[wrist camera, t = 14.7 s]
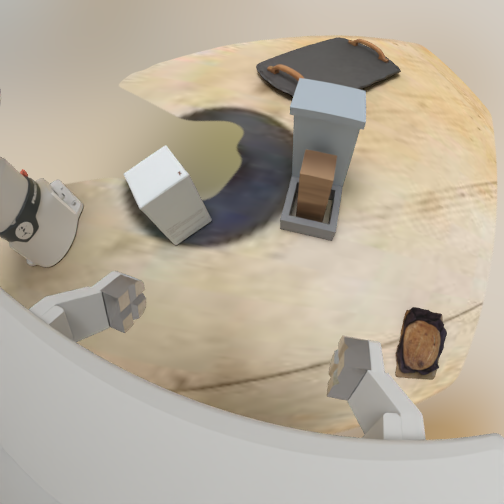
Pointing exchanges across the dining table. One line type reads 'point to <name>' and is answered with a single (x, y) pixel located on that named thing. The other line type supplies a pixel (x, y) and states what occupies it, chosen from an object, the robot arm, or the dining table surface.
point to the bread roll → (420, 344)
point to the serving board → (329, 65)
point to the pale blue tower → (323, 143)
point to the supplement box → (168, 195)
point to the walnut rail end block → (315, 184)
